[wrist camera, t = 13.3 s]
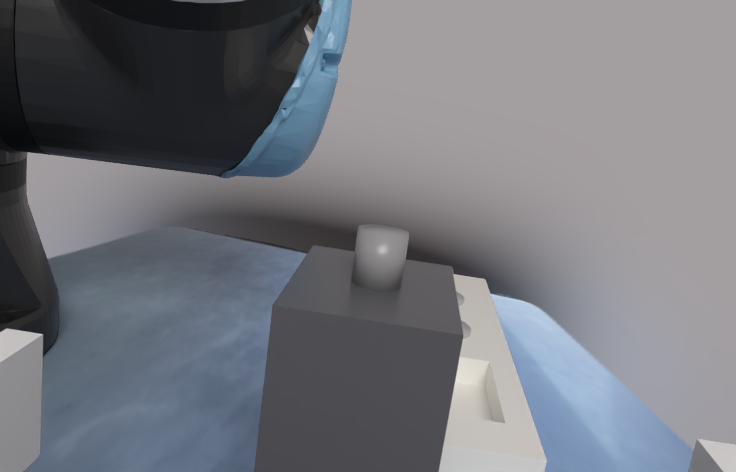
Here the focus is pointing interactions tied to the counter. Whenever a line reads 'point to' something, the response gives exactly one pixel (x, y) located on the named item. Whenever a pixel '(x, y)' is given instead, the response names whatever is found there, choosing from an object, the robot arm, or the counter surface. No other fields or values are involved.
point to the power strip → (487, 396)
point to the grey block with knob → (360, 361)
